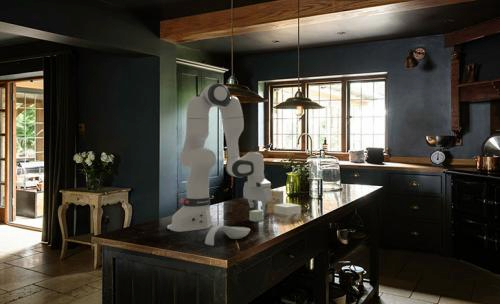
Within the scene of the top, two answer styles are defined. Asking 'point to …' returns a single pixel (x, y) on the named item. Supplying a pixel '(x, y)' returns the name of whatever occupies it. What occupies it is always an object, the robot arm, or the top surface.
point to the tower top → (287, 208)
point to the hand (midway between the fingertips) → (257, 208)
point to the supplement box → (275, 200)
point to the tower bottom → (287, 217)
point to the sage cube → (256, 215)
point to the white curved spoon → (229, 231)
